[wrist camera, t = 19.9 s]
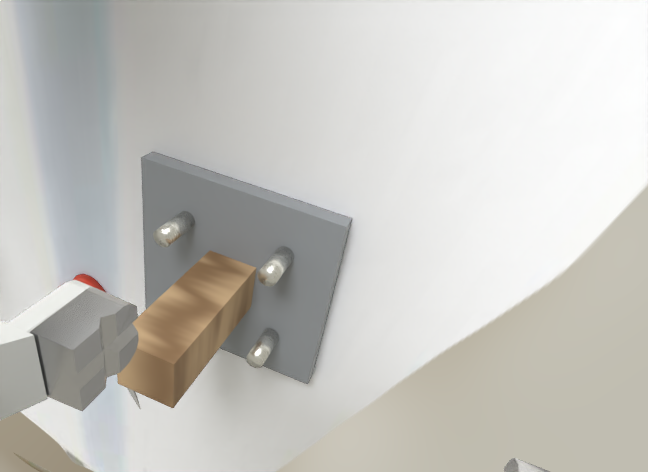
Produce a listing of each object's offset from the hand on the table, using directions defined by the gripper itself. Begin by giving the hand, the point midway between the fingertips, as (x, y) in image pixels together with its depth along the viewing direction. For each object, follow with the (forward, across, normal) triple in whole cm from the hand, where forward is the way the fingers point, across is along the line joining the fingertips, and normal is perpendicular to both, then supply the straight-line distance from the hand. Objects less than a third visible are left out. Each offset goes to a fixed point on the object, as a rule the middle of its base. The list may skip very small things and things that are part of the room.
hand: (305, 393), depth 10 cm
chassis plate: (+25, +13, +19) cm, 34 cm away
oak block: (+24, +13, +19) cm, 33 cm away
